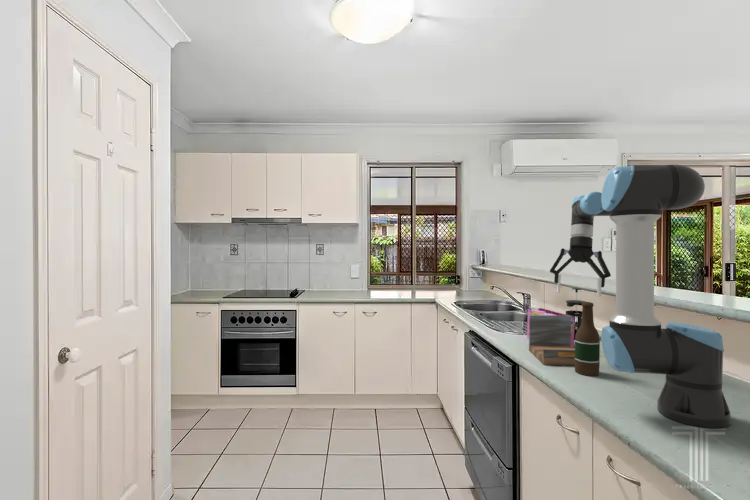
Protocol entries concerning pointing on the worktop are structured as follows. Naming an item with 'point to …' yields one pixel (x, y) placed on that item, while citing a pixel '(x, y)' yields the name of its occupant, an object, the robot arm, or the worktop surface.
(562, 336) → the shelf
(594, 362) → the beer bottle
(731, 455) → the worktop surface
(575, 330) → the french press
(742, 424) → the worktop surface
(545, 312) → the gum box
